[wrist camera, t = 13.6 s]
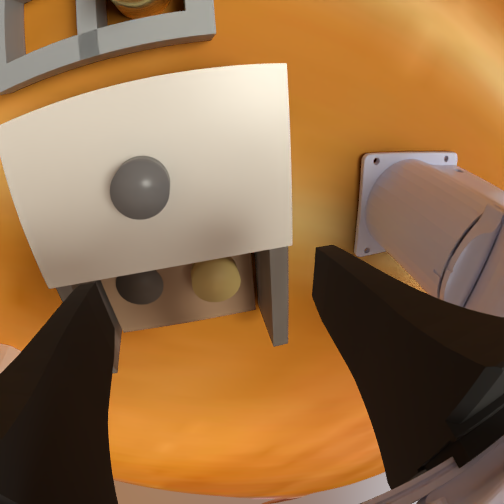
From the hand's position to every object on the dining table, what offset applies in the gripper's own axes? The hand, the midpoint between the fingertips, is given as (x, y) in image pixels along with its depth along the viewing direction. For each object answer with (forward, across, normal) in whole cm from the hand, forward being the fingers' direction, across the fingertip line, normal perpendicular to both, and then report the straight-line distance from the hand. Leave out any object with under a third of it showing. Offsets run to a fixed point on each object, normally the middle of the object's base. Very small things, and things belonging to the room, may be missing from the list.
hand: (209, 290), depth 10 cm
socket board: (+10, +4, -12) cm, 16 cm away
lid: (+7, +2, -2) cm, 8 cm away
